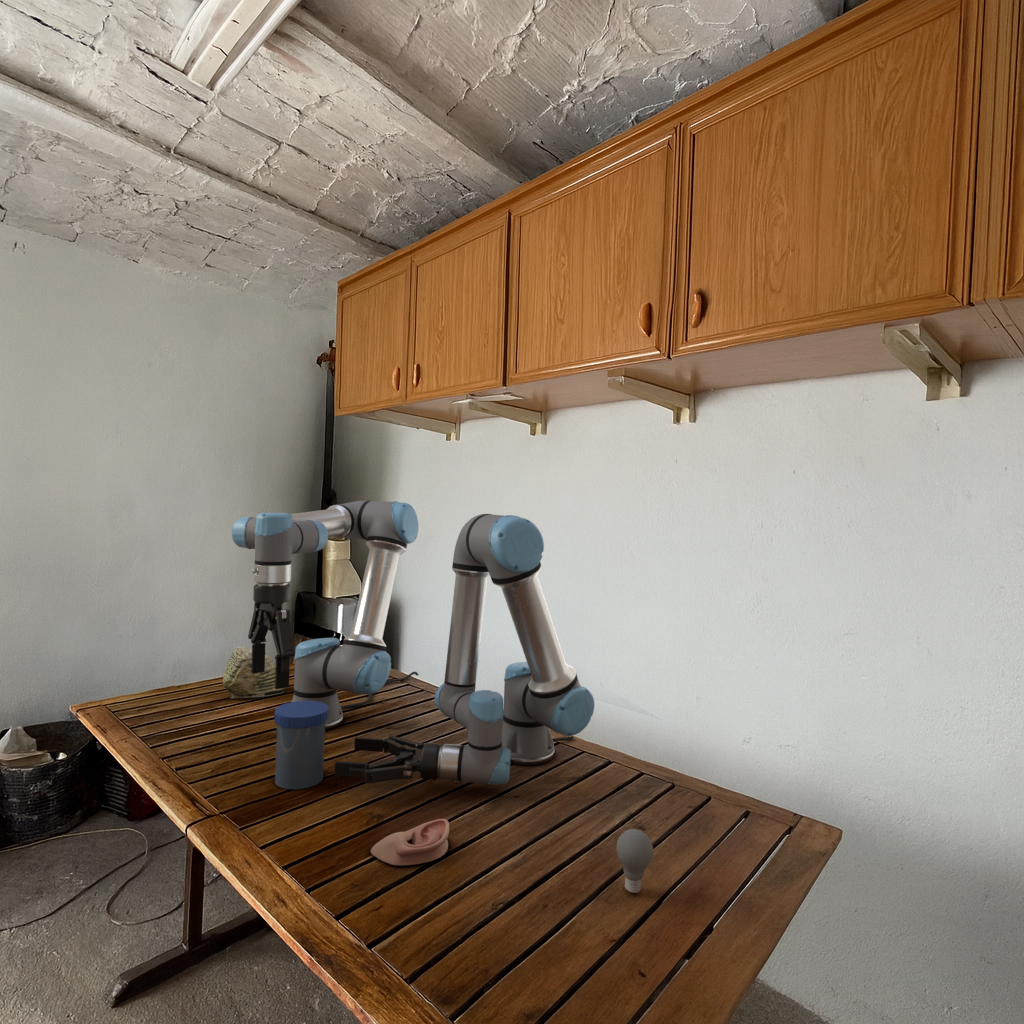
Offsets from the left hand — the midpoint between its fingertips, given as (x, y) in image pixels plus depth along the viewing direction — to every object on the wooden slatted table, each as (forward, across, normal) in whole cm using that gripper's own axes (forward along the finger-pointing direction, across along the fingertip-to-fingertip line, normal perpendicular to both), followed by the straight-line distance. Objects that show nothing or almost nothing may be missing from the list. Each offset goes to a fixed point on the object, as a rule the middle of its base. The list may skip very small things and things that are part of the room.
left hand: (269, 680), depth 139 cm
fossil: (+23, -61, +20) cm, 69 cm away
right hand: (+17, +10, +14) cm, 24 cm away
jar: (+23, +3, +6) cm, 24 cm away
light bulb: (+23, +75, +32) cm, 85 cm away
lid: (+7, +2, +6) cm, 10 cm away
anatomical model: (+23, +42, +10) cm, 49 cm away
